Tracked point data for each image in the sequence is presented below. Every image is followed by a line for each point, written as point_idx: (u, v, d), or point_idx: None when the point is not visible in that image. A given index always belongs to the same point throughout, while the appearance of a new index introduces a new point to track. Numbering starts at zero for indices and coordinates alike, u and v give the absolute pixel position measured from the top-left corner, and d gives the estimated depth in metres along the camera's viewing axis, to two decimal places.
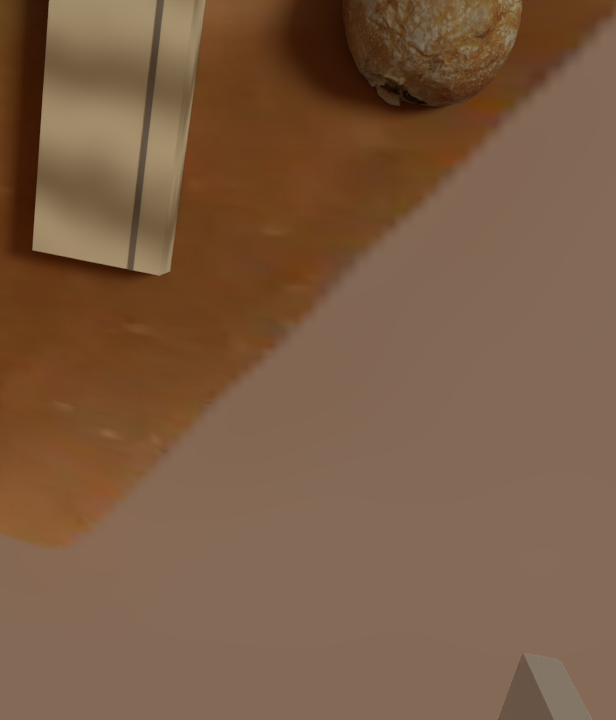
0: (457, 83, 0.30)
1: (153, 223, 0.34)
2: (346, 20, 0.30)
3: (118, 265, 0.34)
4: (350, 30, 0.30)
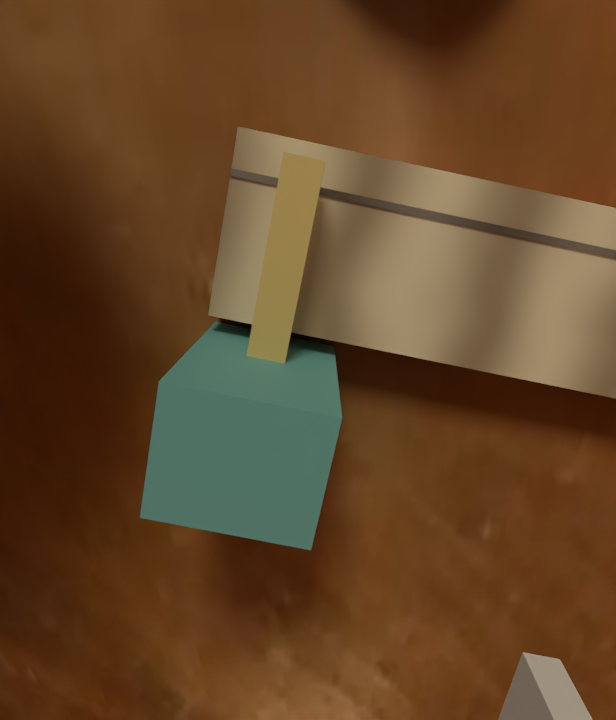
0: None
1: None
2: None
3: None
4: None
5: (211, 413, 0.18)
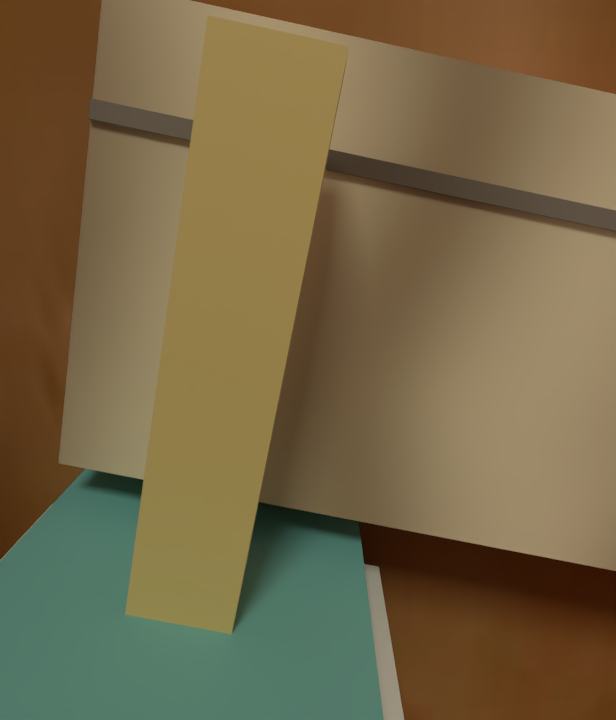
0: None
1: None
2: None
3: None
4: None
5: None
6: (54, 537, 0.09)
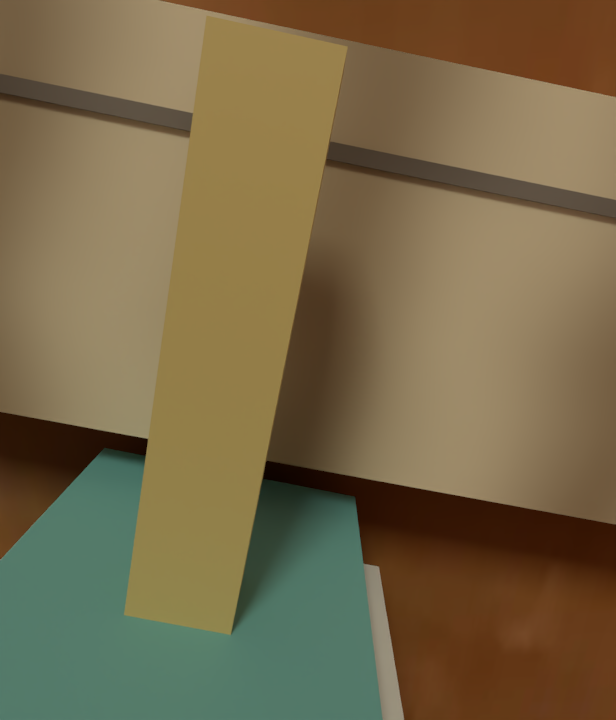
0: None
1: None
2: None
3: None
4: None
5: None
6: (53, 538, 0.09)
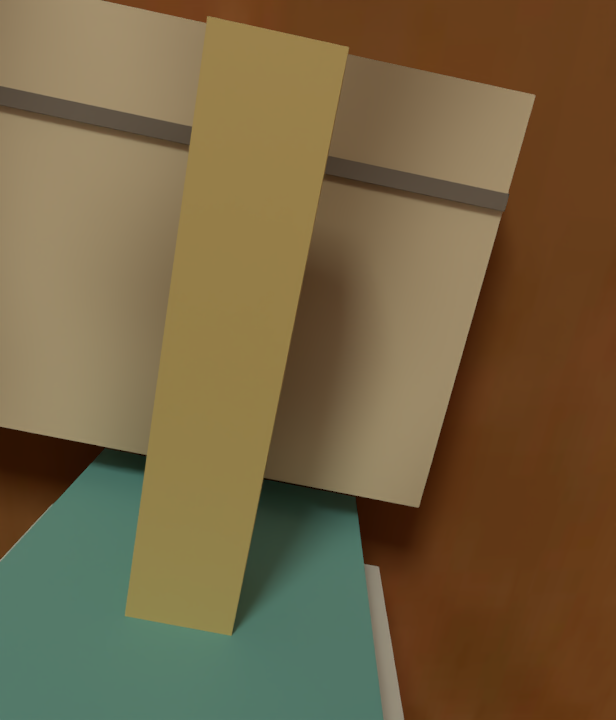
0: None
1: (349, 102, 0.09)
2: None
3: (486, 245, 0.10)
4: None
5: None
6: (53, 538, 0.09)
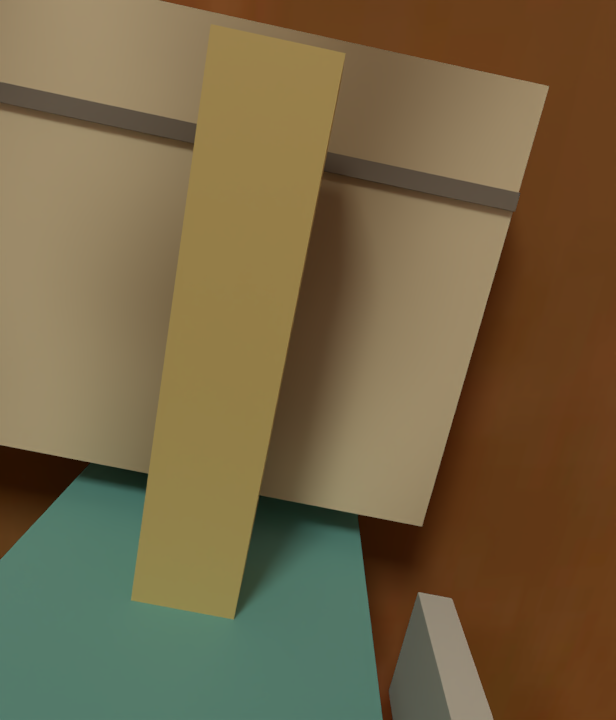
0: None
1: (348, 93, 0.09)
2: None
3: (495, 248, 0.09)
4: None
5: None
6: (61, 527, 0.10)
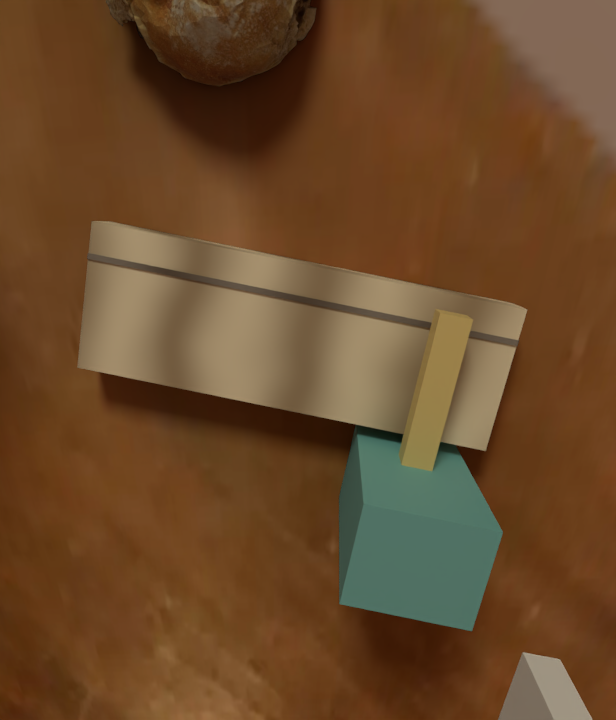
0: None
1: (465, 311, 0.29)
2: (232, 71, 0.26)
3: (511, 357, 0.29)
4: (243, 64, 0.26)
5: (401, 528, 0.23)
6: (367, 447, 0.30)
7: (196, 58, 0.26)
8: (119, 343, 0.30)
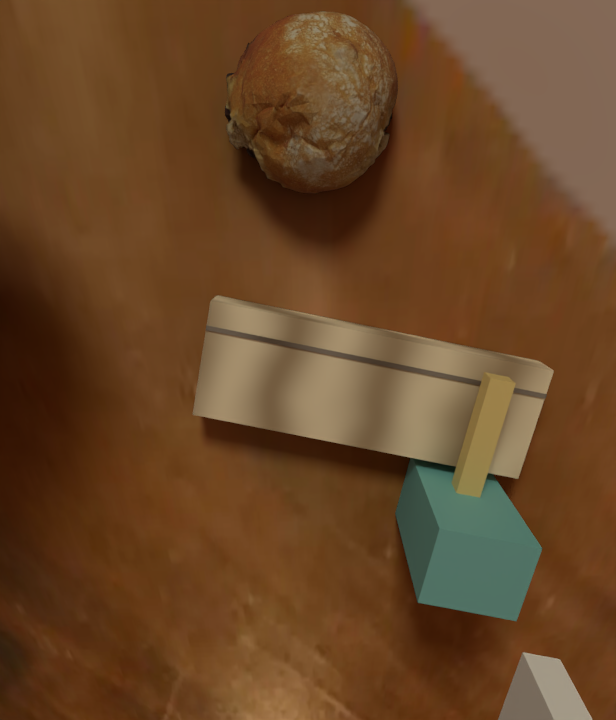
0: (389, 74, 0.31)
1: (505, 371, 0.36)
2: (327, 189, 0.33)
3: (540, 406, 0.37)
4: (336, 185, 0.33)
5: (467, 546, 0.31)
6: (426, 477, 0.37)
7: (302, 182, 0.33)
8: (227, 396, 0.37)
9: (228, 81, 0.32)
